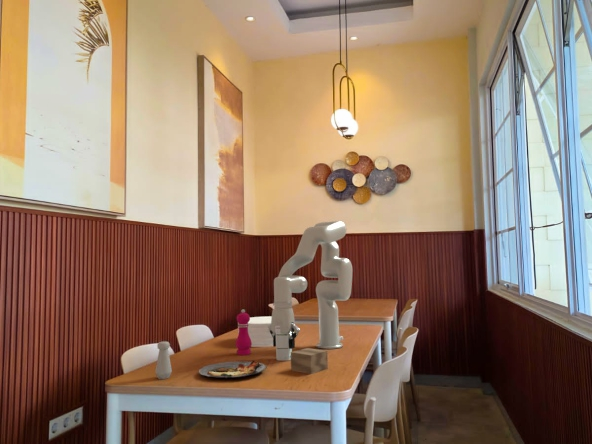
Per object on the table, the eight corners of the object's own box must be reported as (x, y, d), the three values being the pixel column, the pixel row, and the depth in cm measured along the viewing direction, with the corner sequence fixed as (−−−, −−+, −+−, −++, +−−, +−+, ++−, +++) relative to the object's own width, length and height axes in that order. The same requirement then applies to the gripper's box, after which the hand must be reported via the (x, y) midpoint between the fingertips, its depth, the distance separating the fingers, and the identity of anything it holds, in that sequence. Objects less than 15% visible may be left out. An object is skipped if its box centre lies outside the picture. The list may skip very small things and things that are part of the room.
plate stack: (291, 336, 254) (291, 315, 255) (293, 346, 226) (292, 322, 227) (240, 338, 253) (240, 317, 254) (235, 348, 225) (235, 324, 226)
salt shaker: (157, 376, 173) (157, 340, 174) (172, 375, 173) (172, 340, 174) (153, 380, 167) (153, 343, 168) (170, 379, 167) (169, 343, 168)
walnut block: (307, 365, 184) (307, 347, 185) (327, 369, 178) (327, 350, 178) (291, 370, 177) (290, 352, 178) (311, 374, 170) (310, 355, 171)
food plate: (273, 366, 183) (273, 357, 183) (255, 383, 160) (255, 372, 161) (214, 366, 189) (214, 357, 189) (189, 382, 166) (188, 372, 166)
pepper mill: (254, 352, 212) (253, 308, 214) (247, 355, 206) (246, 310, 207) (240, 351, 215) (239, 308, 216) (233, 355, 208) (232, 310, 209)
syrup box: (289, 360, 193) (288, 325, 195) (275, 360, 195) (275, 325, 196) (292, 357, 199) (291, 323, 200) (279, 357, 200) (278, 323, 201)
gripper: (262, 305, 201) (262, 346, 200) (293, 307, 190) (294, 350, 189) (273, 304, 207) (274, 343, 205) (304, 305, 196) (305, 347, 195)
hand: (283, 347), depth 197 cm, fingers open, 8 cm apart
